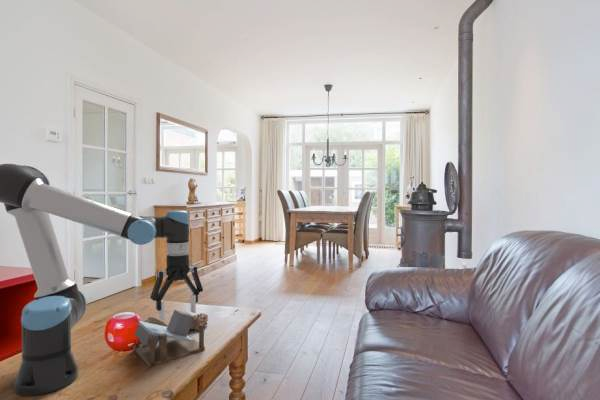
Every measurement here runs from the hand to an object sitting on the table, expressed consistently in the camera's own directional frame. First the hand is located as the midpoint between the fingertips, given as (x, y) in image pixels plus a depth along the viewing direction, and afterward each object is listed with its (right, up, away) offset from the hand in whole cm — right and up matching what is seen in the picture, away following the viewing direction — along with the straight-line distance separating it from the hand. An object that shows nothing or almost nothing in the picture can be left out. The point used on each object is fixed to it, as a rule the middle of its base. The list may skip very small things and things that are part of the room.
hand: (177, 315), depth 128 cm
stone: (-11, -11, +12) cm, 20 cm away
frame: (-2, -11, -2) cm, 12 cm away
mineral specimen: (+1, -11, +18) cm, 22 cm away
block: (0, -6, -1) cm, 6 cm away
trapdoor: (-5, -8, -4) cm, 10 cm away
